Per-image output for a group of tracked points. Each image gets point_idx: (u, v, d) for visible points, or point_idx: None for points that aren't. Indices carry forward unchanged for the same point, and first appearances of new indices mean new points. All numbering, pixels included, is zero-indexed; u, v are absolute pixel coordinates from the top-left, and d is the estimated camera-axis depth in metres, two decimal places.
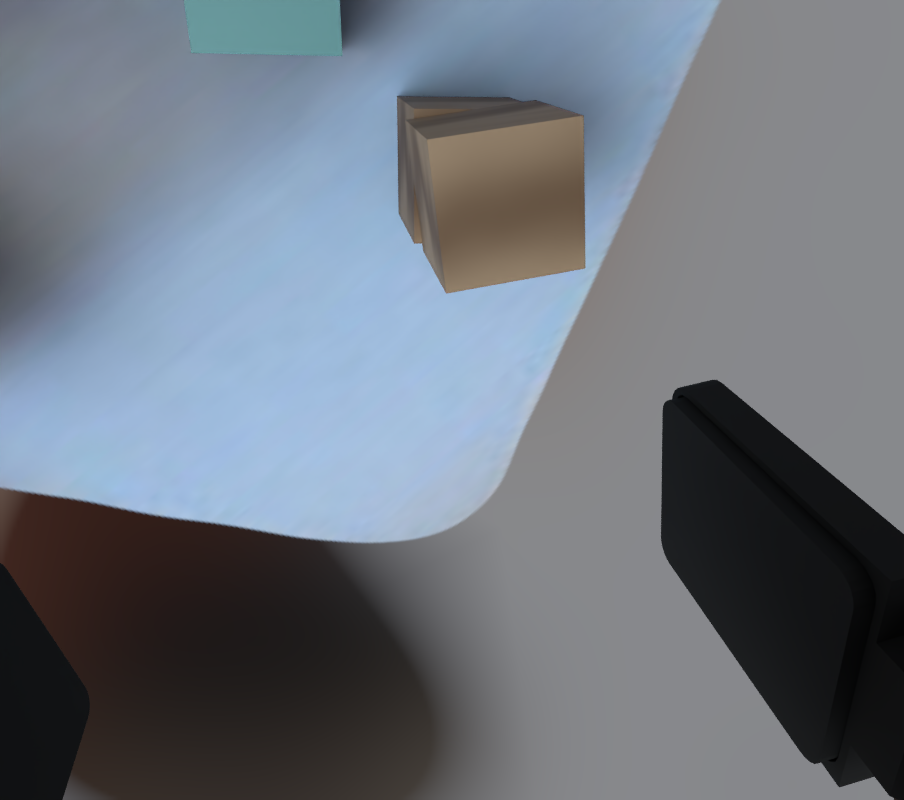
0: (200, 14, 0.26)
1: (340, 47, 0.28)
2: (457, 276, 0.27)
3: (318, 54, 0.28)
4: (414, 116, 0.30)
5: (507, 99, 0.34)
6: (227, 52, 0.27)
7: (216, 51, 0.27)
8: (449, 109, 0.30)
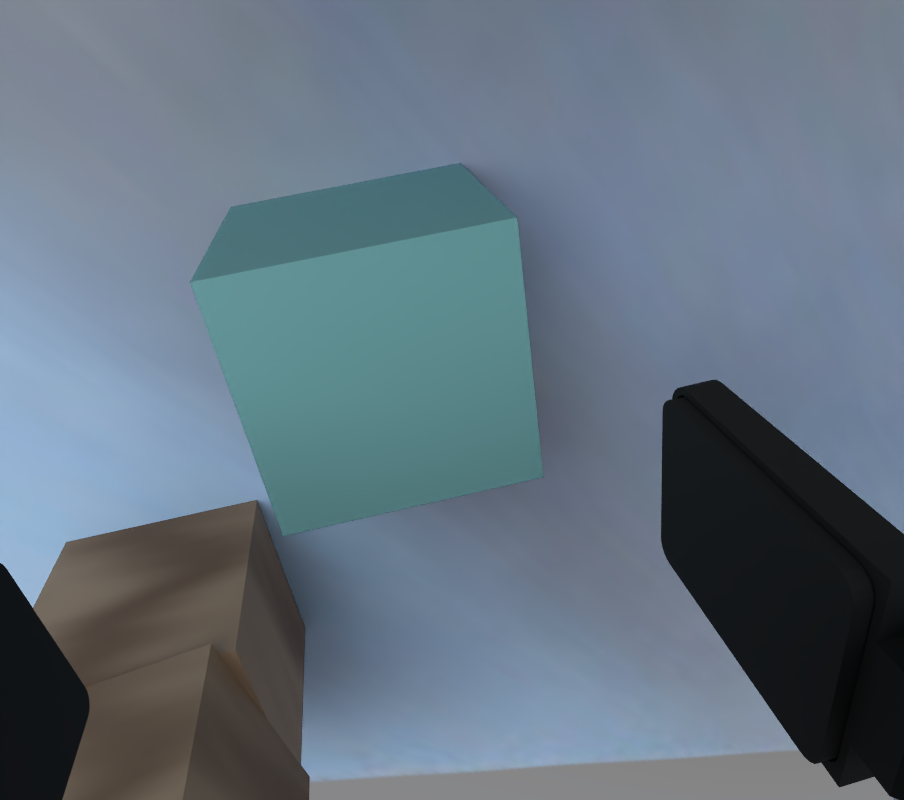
0: (274, 296, 0.12)
1: (296, 530, 0.15)
2: None
3: (272, 501, 0.14)
4: (222, 652, 0.16)
5: (301, 645, 0.23)
6: (217, 351, 0.13)
7: (211, 331, 0.12)
8: (254, 690, 0.17)
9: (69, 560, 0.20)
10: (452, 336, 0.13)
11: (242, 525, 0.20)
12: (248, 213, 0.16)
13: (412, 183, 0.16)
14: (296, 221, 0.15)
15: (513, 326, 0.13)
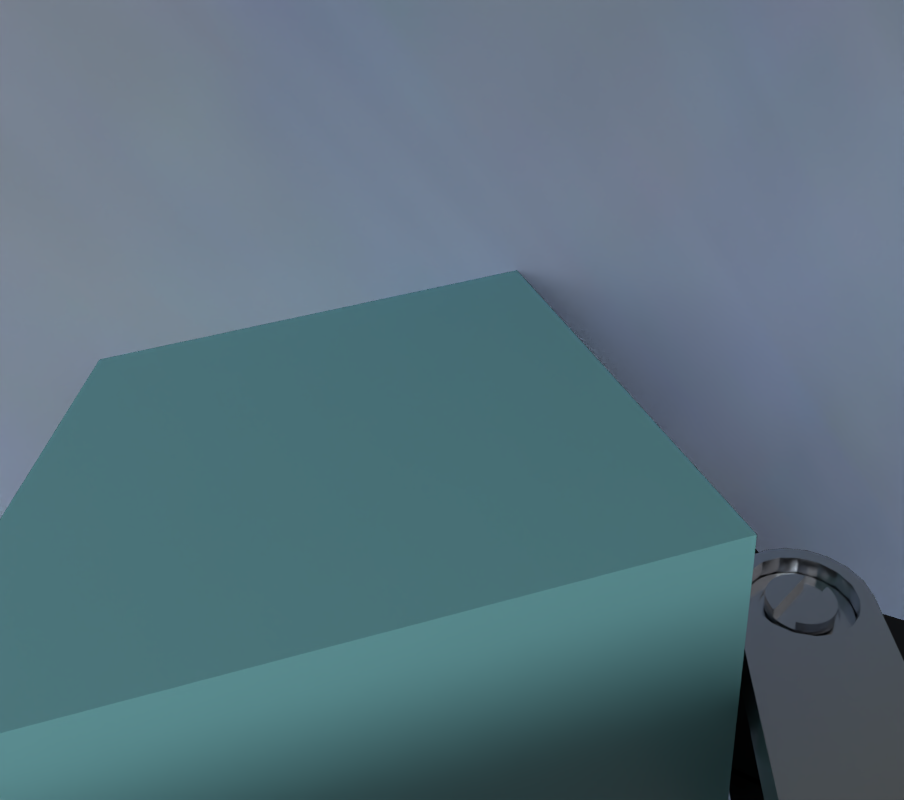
0: (104, 766, 0.04)
1: None
2: None
3: None
4: None
5: None
6: None
7: None
8: None
9: None
10: (560, 768, 0.06)
11: None
12: (120, 391, 0.08)
13: (438, 327, 0.08)
14: (201, 444, 0.07)
15: (703, 732, 0.06)
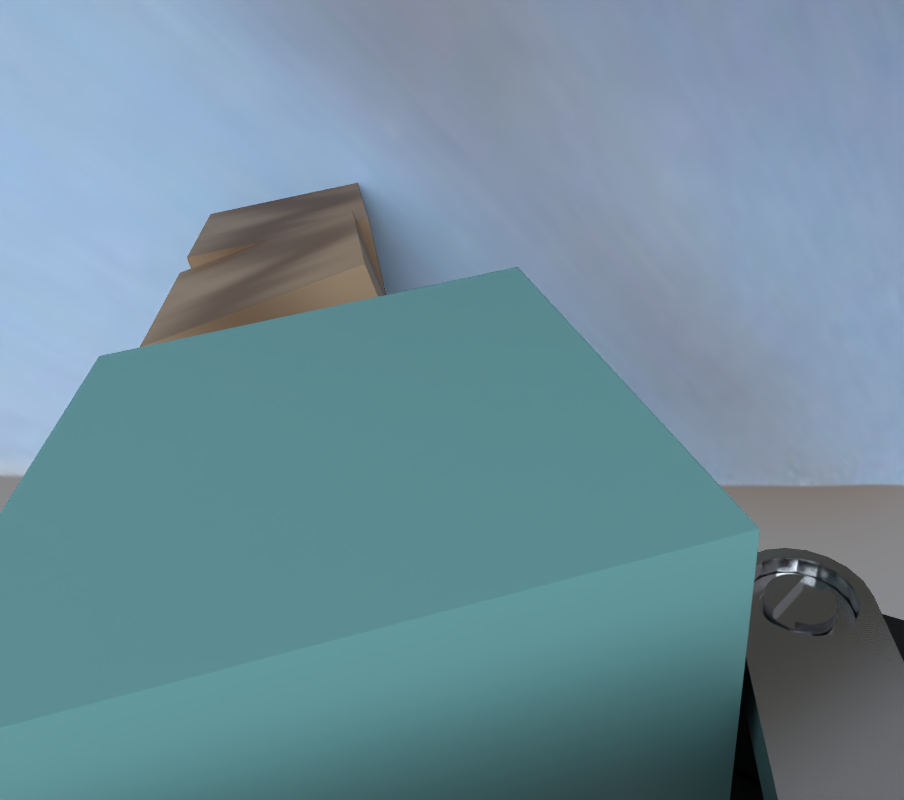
0: (104, 761, 0.04)
1: None
2: None
3: None
4: (358, 220, 0.22)
5: None
6: None
7: None
8: (378, 264, 0.23)
9: (218, 217, 0.26)
10: (563, 766, 0.05)
11: (350, 190, 0.26)
12: (120, 388, 0.08)
13: (439, 324, 0.08)
14: (202, 440, 0.07)
15: (705, 727, 0.06)
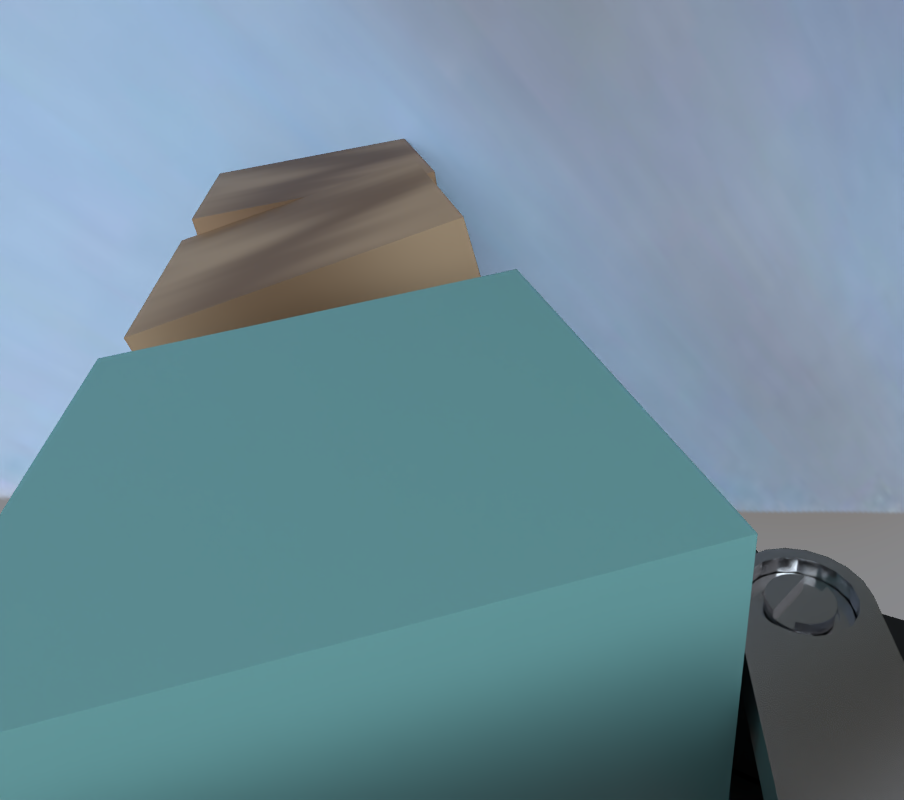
0: (100, 766, 0.04)
1: None
2: None
3: None
4: None
5: None
6: None
7: None
8: None
9: (230, 176, 0.20)
10: (562, 768, 0.05)
11: (398, 145, 0.21)
12: (118, 390, 0.08)
13: (438, 326, 0.08)
14: (200, 443, 0.07)
15: (704, 731, 0.06)
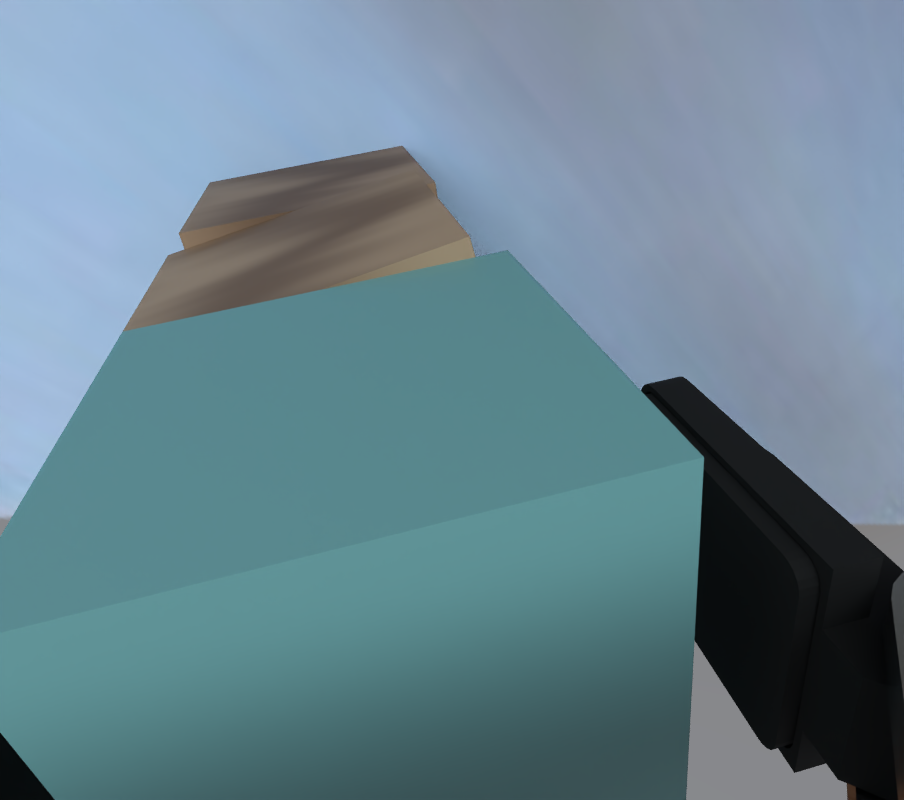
0: (149, 651, 0.05)
1: None
2: None
3: None
4: None
5: None
6: (28, 760, 0.06)
7: (7, 729, 0.05)
8: None
9: (220, 186, 0.20)
10: (541, 673, 0.06)
11: (396, 153, 0.20)
12: (144, 357, 0.09)
13: (434, 300, 0.09)
14: (222, 398, 0.08)
15: (665, 642, 0.06)
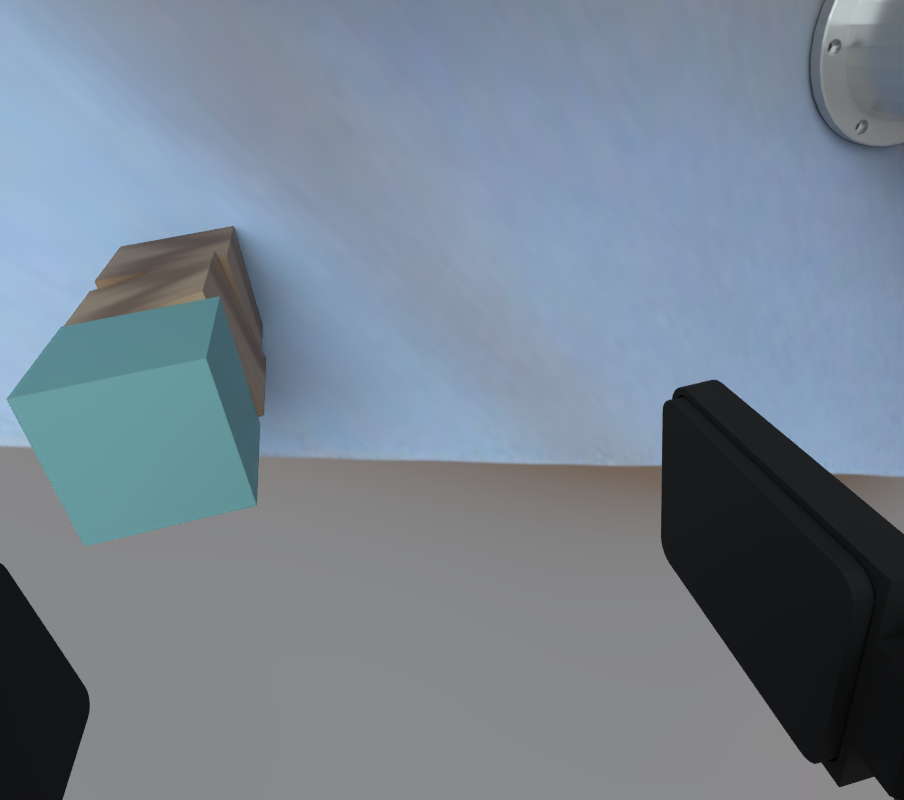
0: (60, 405, 0.21)
1: (93, 542, 0.23)
2: None
3: (74, 524, 0.23)
4: (219, 258, 0.32)
5: (260, 326, 0.38)
6: (28, 436, 0.21)
7: (22, 425, 0.21)
8: (235, 288, 0.32)
9: (125, 250, 0.35)
10: (177, 423, 0.22)
11: (225, 232, 0.36)
12: (67, 336, 0.25)
13: (178, 316, 0.25)
14: (91, 348, 0.23)
15: (216, 417, 0.22)
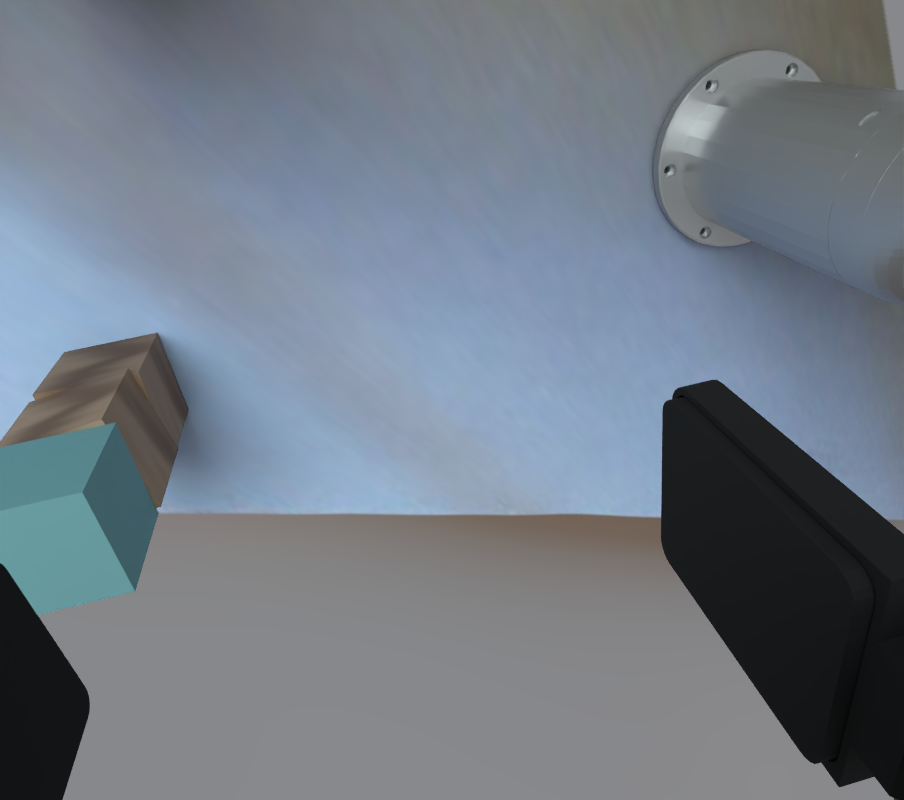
0: None
1: None
2: None
3: None
4: (133, 373, 0.39)
5: (184, 412, 0.46)
6: None
7: None
8: (148, 395, 0.40)
9: (66, 356, 0.43)
10: (65, 537, 0.30)
11: (148, 340, 0.43)
12: None
13: (78, 443, 0.32)
14: (7, 474, 0.31)
15: (95, 531, 0.30)
